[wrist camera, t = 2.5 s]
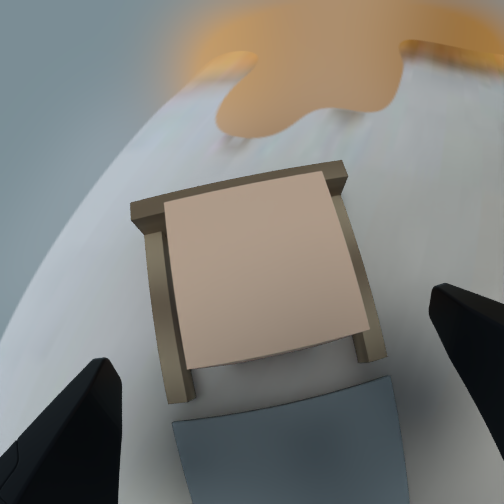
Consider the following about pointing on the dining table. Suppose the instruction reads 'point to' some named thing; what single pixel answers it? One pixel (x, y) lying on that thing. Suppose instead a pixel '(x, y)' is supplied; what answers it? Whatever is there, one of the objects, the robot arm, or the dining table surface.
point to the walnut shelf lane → (161, 283)
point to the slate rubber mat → (300, 451)
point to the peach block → (261, 271)
